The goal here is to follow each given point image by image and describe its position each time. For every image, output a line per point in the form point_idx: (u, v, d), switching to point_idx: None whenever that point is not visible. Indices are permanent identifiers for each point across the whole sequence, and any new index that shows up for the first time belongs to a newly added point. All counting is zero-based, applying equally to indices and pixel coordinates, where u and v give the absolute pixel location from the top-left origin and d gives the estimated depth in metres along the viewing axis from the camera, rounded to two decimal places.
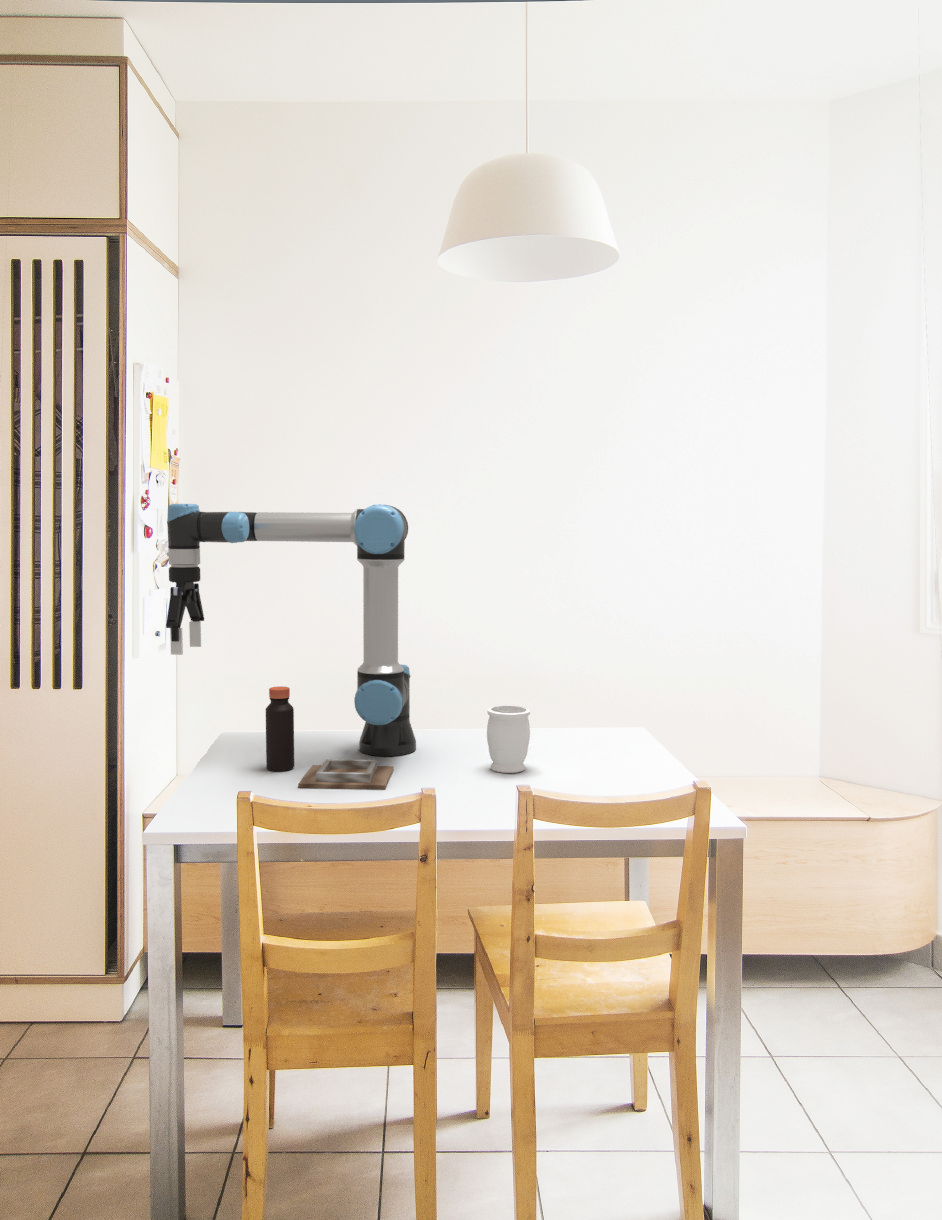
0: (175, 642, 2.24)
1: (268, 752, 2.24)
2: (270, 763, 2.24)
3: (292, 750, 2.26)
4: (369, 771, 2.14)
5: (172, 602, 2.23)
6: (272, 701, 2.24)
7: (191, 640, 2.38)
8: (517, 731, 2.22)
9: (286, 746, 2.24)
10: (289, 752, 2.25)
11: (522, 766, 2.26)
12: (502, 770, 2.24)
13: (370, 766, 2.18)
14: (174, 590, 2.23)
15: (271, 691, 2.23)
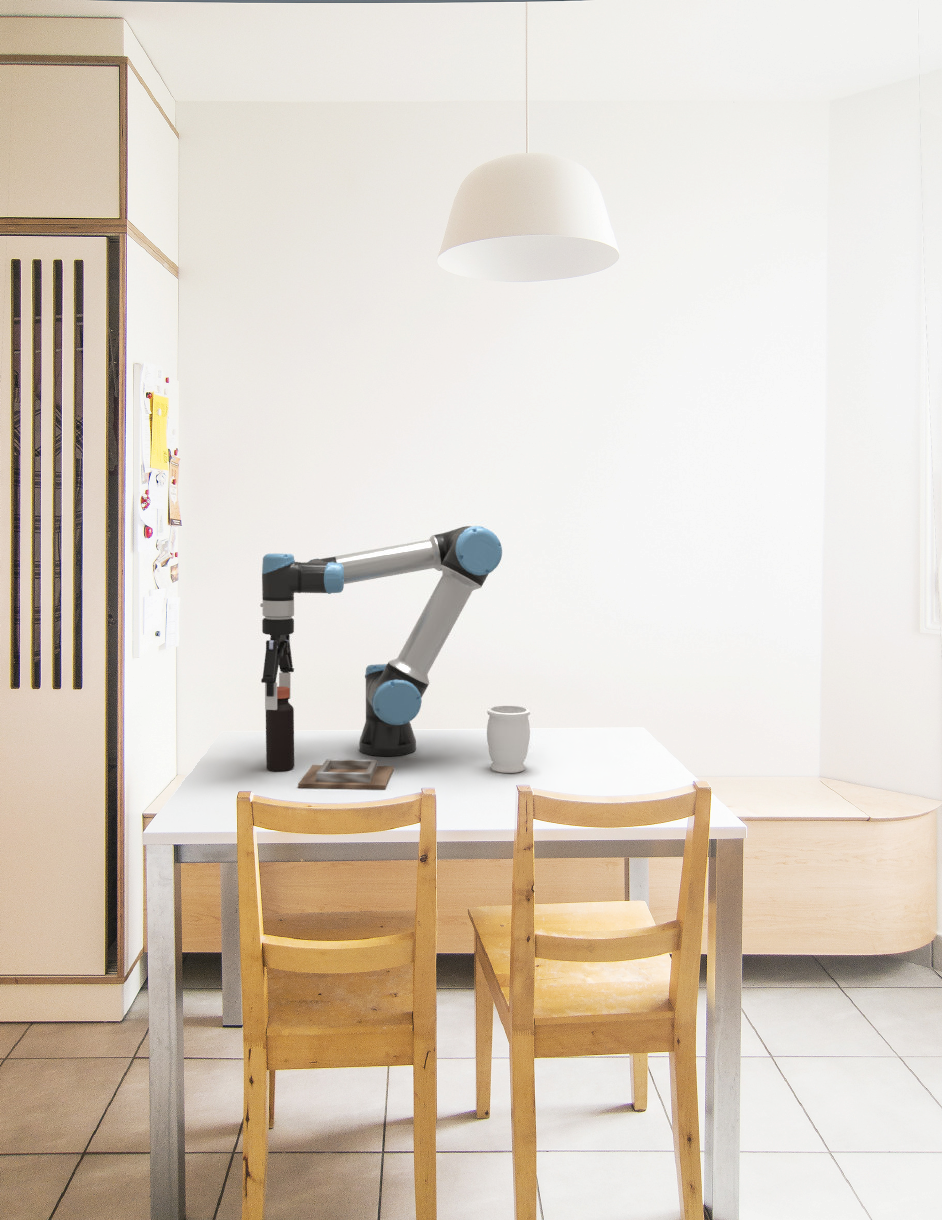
0: (270, 697, 2.18)
1: (268, 752, 2.24)
2: (270, 763, 2.24)
3: (292, 750, 2.26)
4: (369, 771, 2.14)
5: (268, 656, 2.17)
6: None
7: None
8: (517, 731, 2.22)
9: (286, 746, 2.24)
10: (289, 752, 2.25)
11: (522, 766, 2.26)
12: (502, 770, 2.24)
13: (370, 766, 2.18)
14: (270, 644, 2.17)
15: None
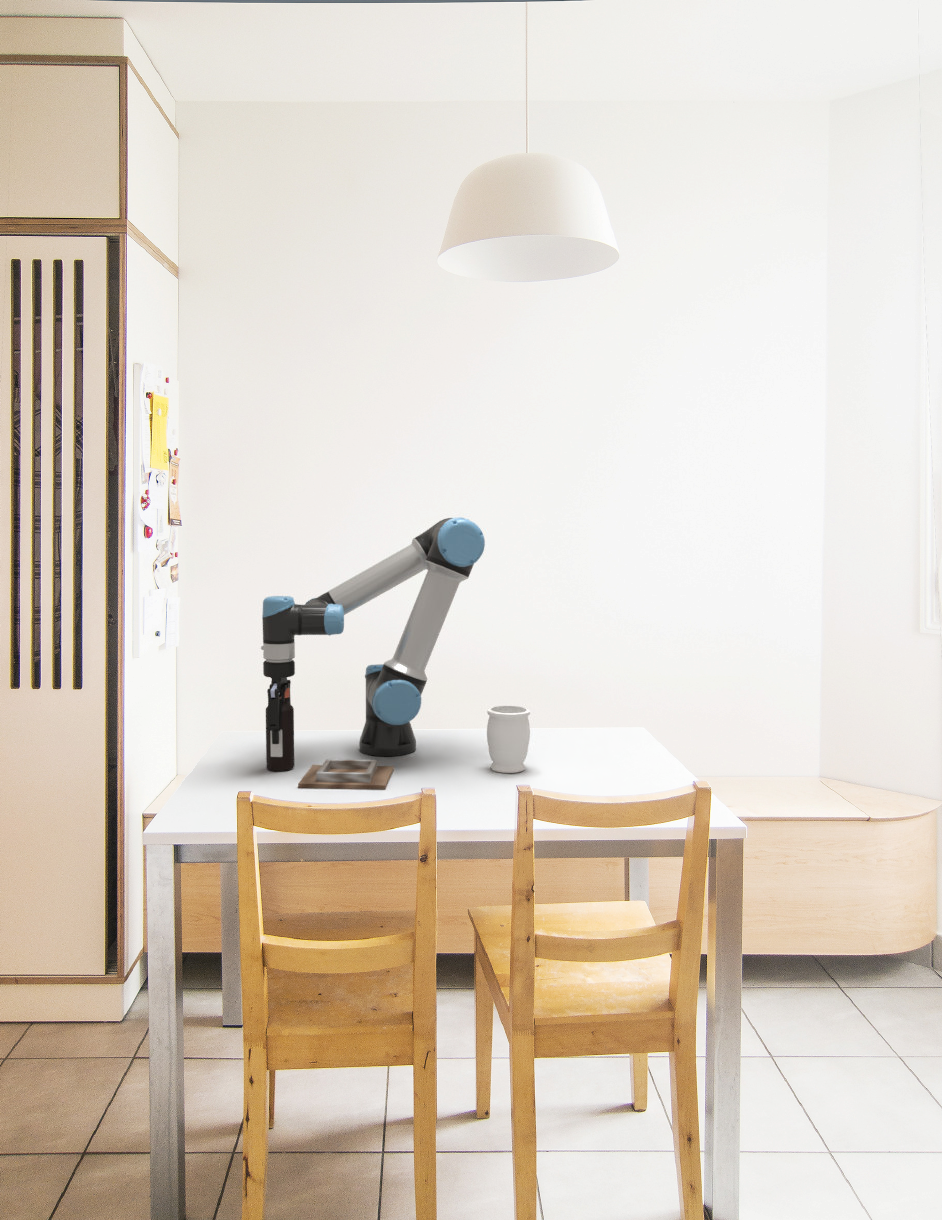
0: (275, 744, 2.23)
1: (268, 752, 2.24)
2: (270, 763, 2.24)
3: (292, 750, 2.26)
4: (369, 771, 2.14)
5: (271, 705, 2.19)
6: None
7: None
8: (517, 731, 2.22)
9: (286, 745, 2.24)
10: (289, 752, 2.25)
11: (522, 766, 2.26)
12: (502, 770, 2.24)
13: (370, 766, 2.18)
14: (271, 693, 2.19)
15: None
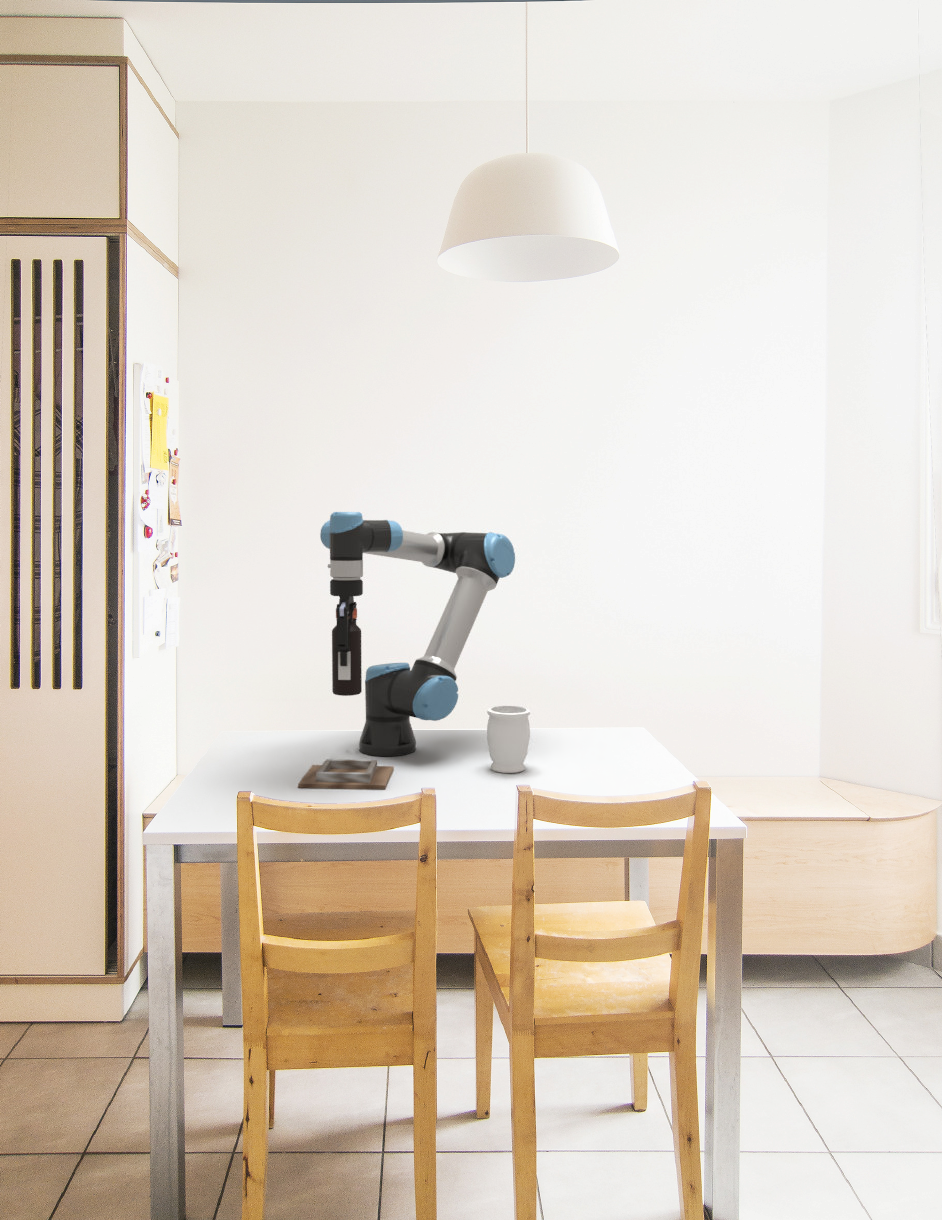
0: (343, 667, 2.12)
1: (335, 675, 2.14)
2: (337, 687, 2.14)
3: (360, 674, 2.15)
4: (369, 771, 2.14)
5: (339, 624, 2.08)
6: None
7: None
8: (517, 731, 2.22)
9: (354, 668, 2.13)
10: (356, 676, 2.14)
11: (522, 766, 2.26)
12: (502, 770, 2.24)
13: (370, 766, 2.18)
14: (340, 611, 2.08)
15: None
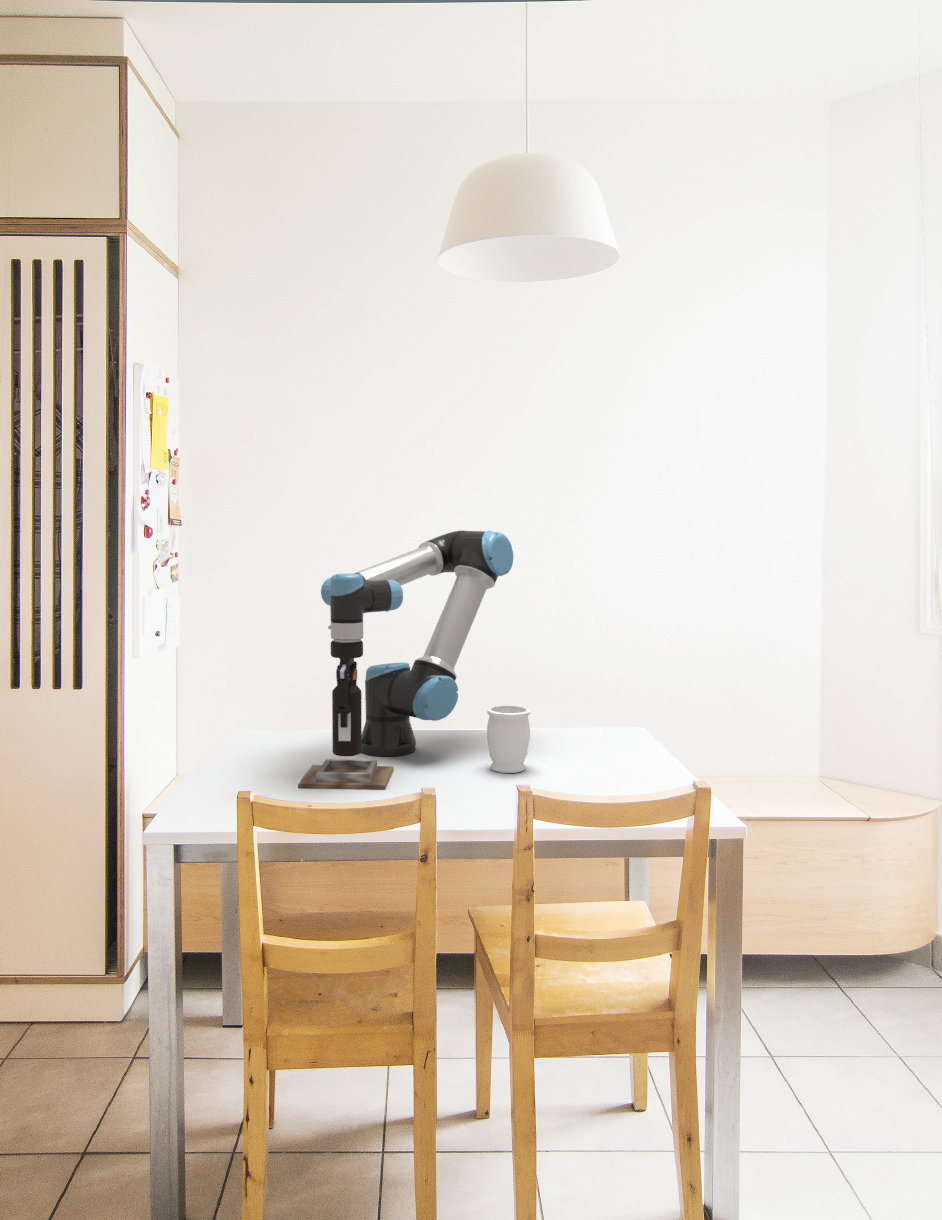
0: (343, 728, 2.13)
1: (335, 736, 2.15)
2: (337, 748, 2.15)
3: (360, 734, 2.17)
4: (369, 771, 2.14)
5: (340, 686, 2.10)
6: None
7: None
8: (517, 731, 2.22)
9: (354, 729, 2.15)
10: (356, 736, 2.15)
11: (522, 766, 2.26)
12: (502, 770, 2.24)
13: (370, 766, 2.18)
14: (341, 674, 2.09)
15: None
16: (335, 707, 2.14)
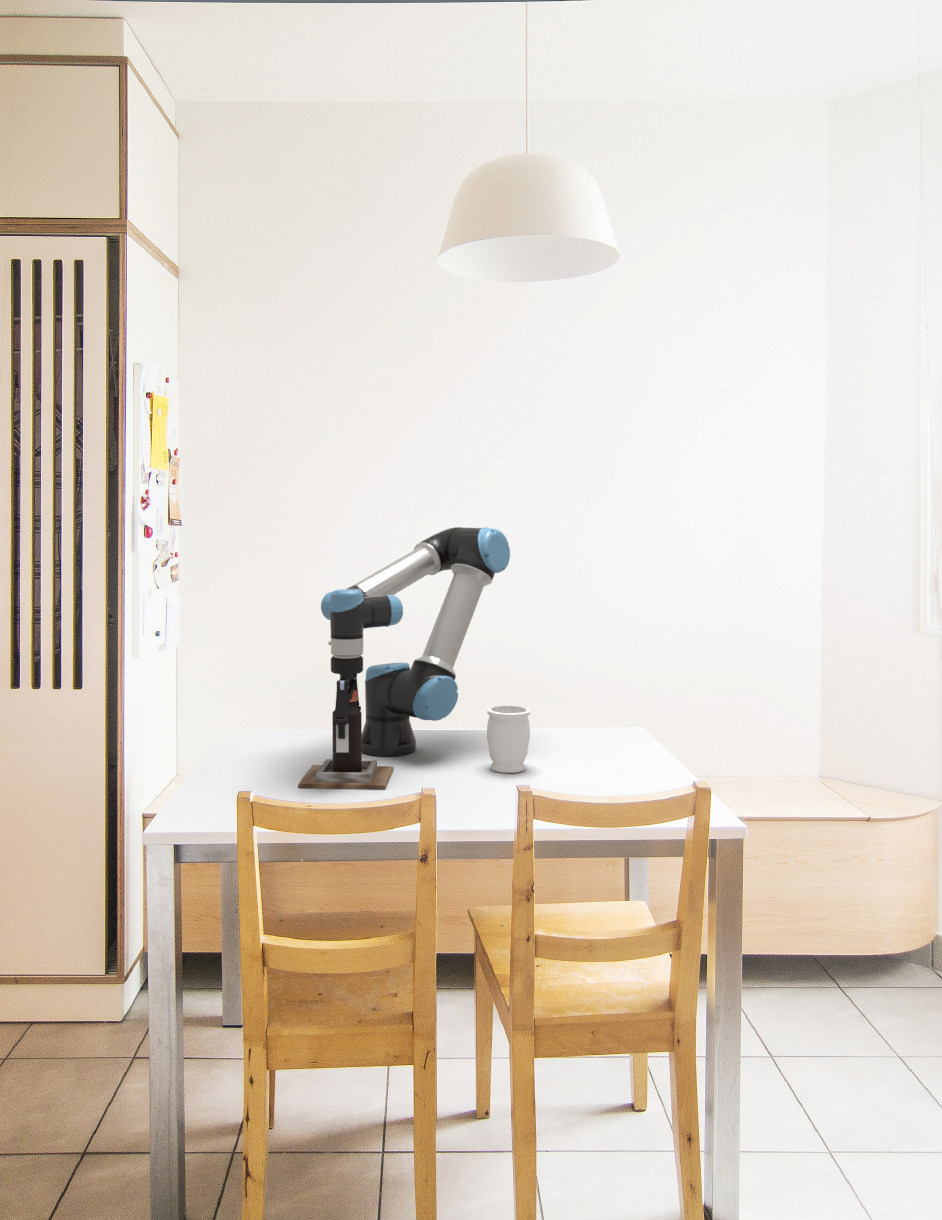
0: (341, 739, 2.10)
1: (336, 758, 2.16)
2: (337, 769, 2.16)
3: (360, 755, 2.17)
4: (369, 771, 2.14)
5: (339, 697, 2.09)
6: None
7: None
8: (517, 731, 2.22)
9: (354, 751, 2.15)
10: (357, 758, 2.16)
11: (522, 766, 2.26)
12: (502, 770, 2.24)
13: (370, 766, 2.18)
14: (341, 684, 2.09)
15: None
16: (335, 729, 2.15)
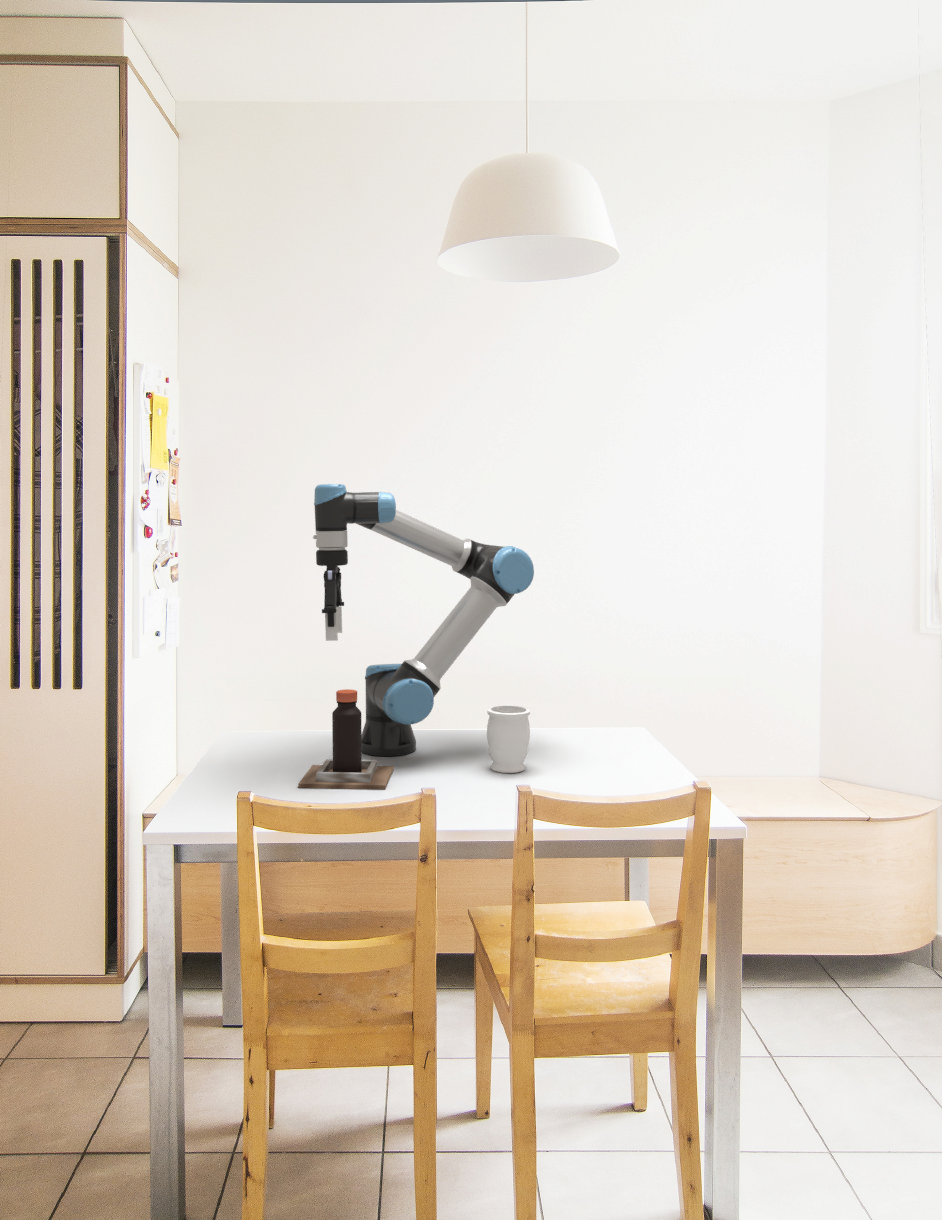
0: (330, 628, 2.17)
1: (336, 758, 2.16)
2: (337, 769, 2.16)
3: (360, 755, 2.17)
4: (369, 771, 2.14)
5: (327, 586, 2.15)
6: (340, 705, 2.15)
7: None
8: (517, 731, 2.22)
9: (354, 751, 2.15)
10: (357, 758, 2.16)
11: (522, 766, 2.26)
12: (502, 770, 2.24)
13: (370, 766, 2.18)
14: (328, 574, 2.15)
15: (339, 694, 2.15)
16: (335, 729, 2.15)
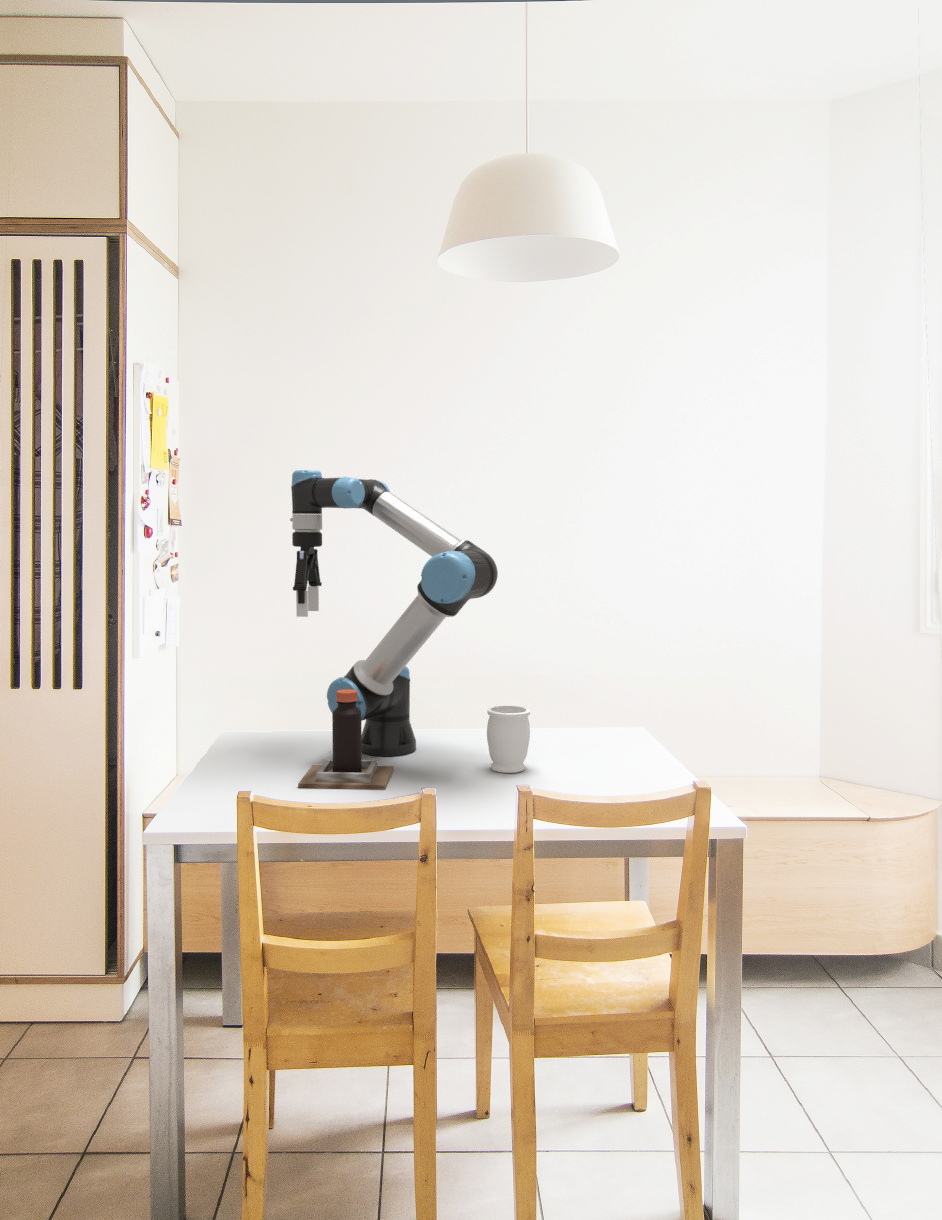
0: (301, 604, 2.31)
1: (336, 758, 2.16)
2: (337, 769, 2.16)
3: (360, 755, 2.17)
4: (369, 771, 2.14)
5: (299, 565, 2.29)
6: (340, 705, 2.15)
7: (309, 604, 2.44)
8: (517, 731, 2.22)
9: (354, 751, 2.15)
10: (357, 758, 2.16)
11: (522, 766, 2.26)
12: (502, 770, 2.24)
13: (370, 766, 2.18)
14: (300, 554, 2.30)
15: (339, 694, 2.15)
16: (335, 729, 2.15)
